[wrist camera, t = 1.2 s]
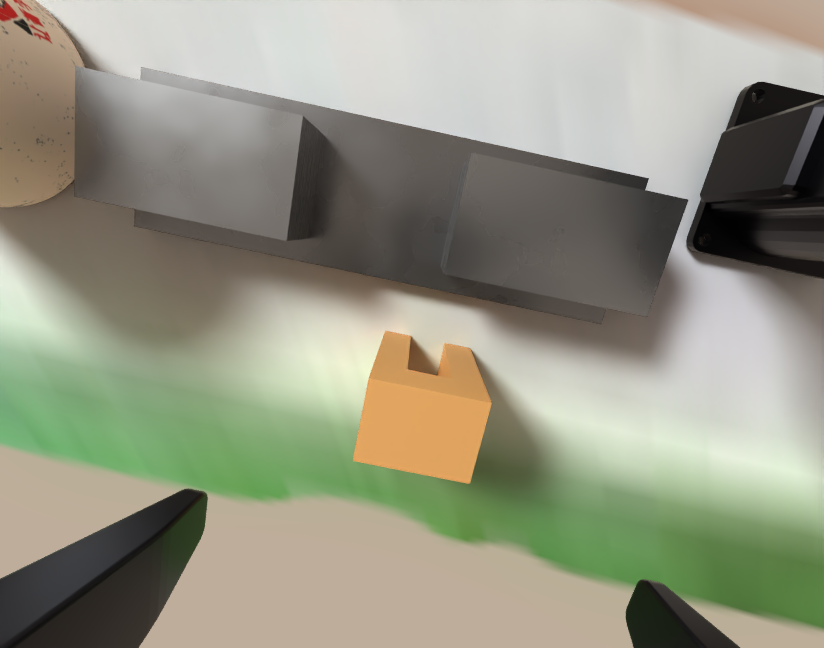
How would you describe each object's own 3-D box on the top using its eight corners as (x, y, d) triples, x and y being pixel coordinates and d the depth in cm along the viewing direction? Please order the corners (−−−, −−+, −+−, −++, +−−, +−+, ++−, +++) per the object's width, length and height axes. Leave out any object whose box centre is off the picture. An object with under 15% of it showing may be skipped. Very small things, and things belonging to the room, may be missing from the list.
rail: (635, 181, 17) (699, 167, 13) (591, 318, 18) (637, 343, 14) (157, 76, 16) (75, 30, 13) (149, 226, 18) (73, 225, 14)
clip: (470, 348, 19) (491, 403, 13) (455, 406, 19) (469, 484, 14) (385, 330, 19) (368, 378, 13) (373, 390, 19) (352, 460, 14)
